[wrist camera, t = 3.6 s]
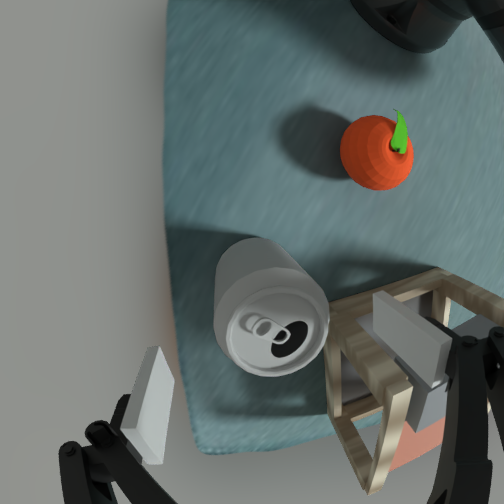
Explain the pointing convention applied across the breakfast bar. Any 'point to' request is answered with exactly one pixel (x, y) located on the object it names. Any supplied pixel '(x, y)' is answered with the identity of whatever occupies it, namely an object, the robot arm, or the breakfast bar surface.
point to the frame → (385, 363)
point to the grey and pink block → (429, 403)
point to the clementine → (377, 152)
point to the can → (267, 309)
